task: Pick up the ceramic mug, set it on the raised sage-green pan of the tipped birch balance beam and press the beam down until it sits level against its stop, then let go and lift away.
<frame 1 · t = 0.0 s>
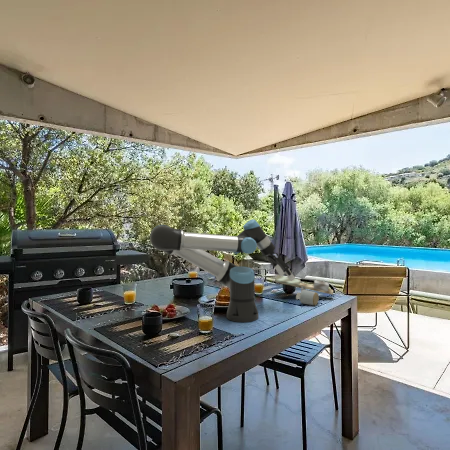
hand: (287, 277, 176), 15 cm above the table, tool tilted 35°, fingers open, 13 cm apart
balance beam: (304, 283, 194), point 8 cm above the table, hinge at 10.0°
ceramic mug: (310, 304, 180), on the table
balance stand: (303, 297, 194), on the table
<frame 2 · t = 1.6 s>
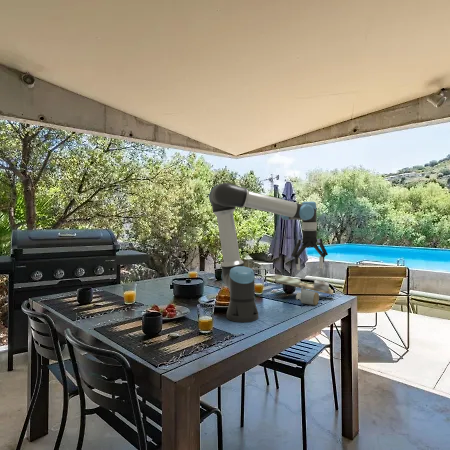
hand: (309, 269, 180), 19 cm above the table, tool pointing down, fingers open, 13 cm apart
nothing on the table moved.
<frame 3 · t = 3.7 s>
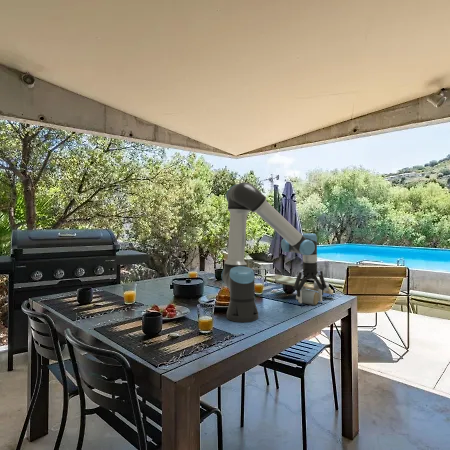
hand: (310, 302, 180), 1 cm above the table, tool pointing down, fingers closed on ceramic mug, 11 cm apart
ceramic mug: (310, 303, 181), on the table, touching gripper
everything else where it was.
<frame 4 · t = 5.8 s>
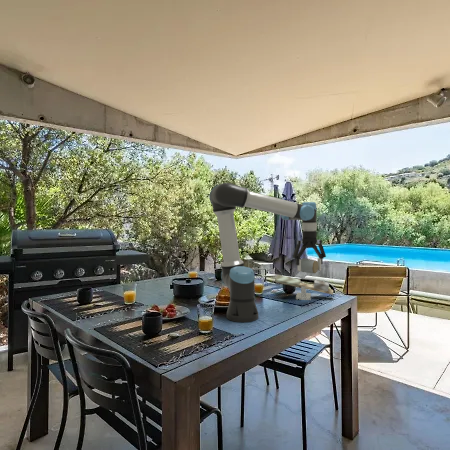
hand: (309, 270, 180), 18 cm above the table, tool pointing down, fingers closed on ceramic mug, 11 cm apart
ceramic mug: (309, 272, 181), point 17 cm above the table, touching gripper
everything else where it was.
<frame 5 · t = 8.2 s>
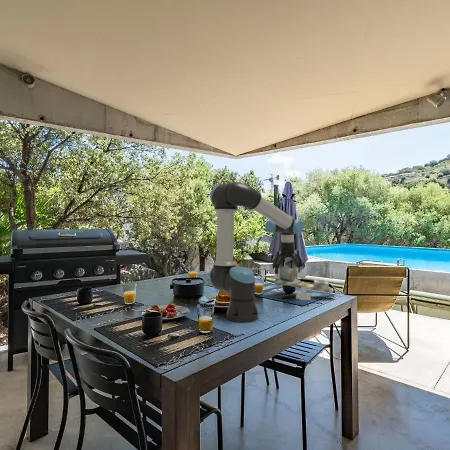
hand: (287, 278, 197), 11 cm above the table, tool pointing down, fingers closed on ceramic mug, 11 cm apart
balance beam: (304, 283, 194), point 8 cm above the table, hinge at 6.8°, touching ceramic mug, gripper
ceramic mug: (287, 280, 197), point 10 cm above the table, touching balance beam, gripper
when the fingers open (9 cm above the table, at t = 9.0 s): ceramic mug stays where it is, resting on balance beam.
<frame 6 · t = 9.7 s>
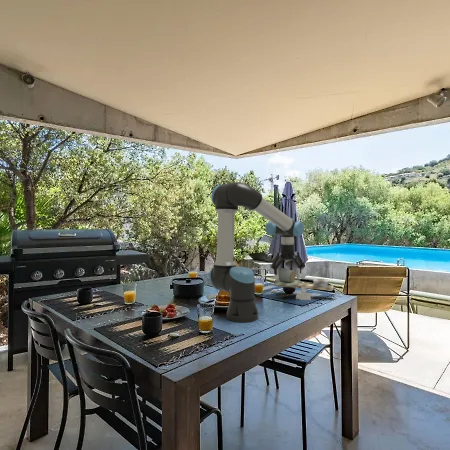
hand: (287, 279, 197), 10 cm above the table, tool pointing down, fingers open, 13 cm apart
balance beam: (303, 283, 194), point 8 cm above the table, hinge at 1.6°, touching ceramic mug
ceramic mug: (287, 281, 198), point 9 cm above the table, touching balance beam
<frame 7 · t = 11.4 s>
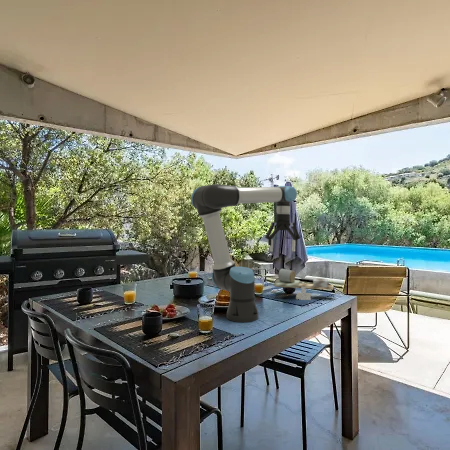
hand: (282, 251, 187), 28 cm above the table, tool pointing down, fingers open, 13 cm apart
balance beam: (303, 283, 194), point 8 cm above the table, hinge at 0.3°, touching ceramic mug
everything else where it was.
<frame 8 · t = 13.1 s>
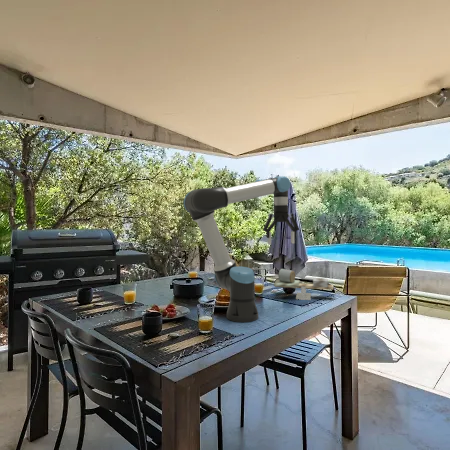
hand: (281, 243, 182), 33 cm above the table, tool pointing down, fingers open, 13 cm apart
balance beam: (303, 283, 194), point 8 cm above the table, hinge at 0.0°, touching ceramic mug
everything else where it was.
at the end: balance beam at +0° (first picture: +10°); ceramic mug touching balance beam; ceramic mug tilted 1° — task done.
